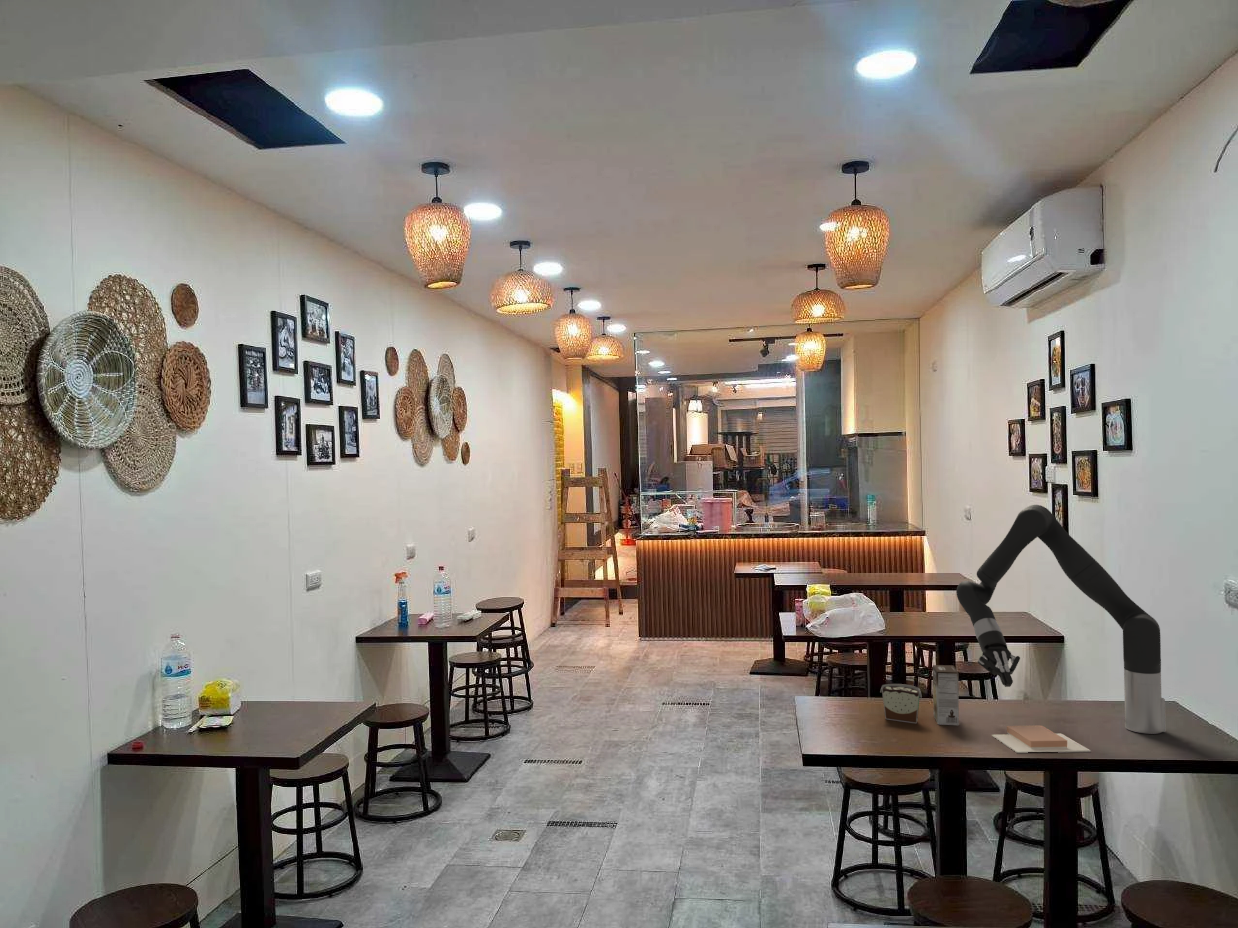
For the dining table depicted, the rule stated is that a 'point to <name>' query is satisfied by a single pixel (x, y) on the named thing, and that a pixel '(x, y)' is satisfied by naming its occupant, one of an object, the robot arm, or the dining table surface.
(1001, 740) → the mat
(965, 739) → the dining table surface
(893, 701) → the food container
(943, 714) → the coffee box
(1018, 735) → the tan flat block
